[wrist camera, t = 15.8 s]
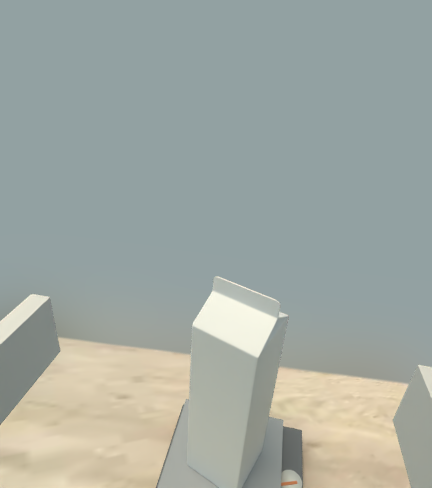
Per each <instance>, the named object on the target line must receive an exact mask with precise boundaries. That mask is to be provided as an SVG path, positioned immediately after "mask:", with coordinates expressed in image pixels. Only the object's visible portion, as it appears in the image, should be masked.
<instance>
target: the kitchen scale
mask: <svg viewBox="0 0 432 488" xmlns="http://www.w3.org/2000/svg"><path fill="white" fill-rule="evenodd" d="M188 417H189V399H186V401H185V404H184V405H183V407H182V410H181V413H180V416H179V419H178V422H177V425H176V428H175V431H174V434H173V437H172V440H171V443H170V446H169V449H168V452H167V455H166V458H165V461H164V465H163V468H162V471H161V474H160V477H159V480H158V483H157V486H156V488H219V487H217V486H216V485H215V484H213V483H212V482H210V481H209V480H208V479H206V478H205V477H204V476H202V475H201V474H199V473H198V472H197V471H195V470H194V469H192V468H191V467H190V466H188V465H187V442H188ZM242 488H303V476H302V430H298V429H293V428H289V427H284V426H283V420H281V419H277V418H272V417H269V418H268V423H267V428H266V433H265V438H264V443H263V448H262V451H261V453H260V455H259V457H258V459H257V461H256V463H255V464H254V466H253V468H252V470H251V472H250V474H249V475H248V477H247V479H246V481H245V483H244V485H243V486H242Z"/></svg>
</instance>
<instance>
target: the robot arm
mask: <svg viewBox="0 0 432 488" xmlns="http://www.w3.org/2000/svg"><path fill="white" fill-rule="evenodd" d="M59 352H60V347H59V342H58V336H57V331H56V326H55V321H54V316H53V311H52V305H51V300H50V297H46V296H41V295H35V294H31V295H30V296H29V297H28V298H26V299H25V300H24V301H23V302H22V303H21V304H20V305H18V306H17V307H16V308H15V309H14V310H13V311H12V312H10V313H9V314H8V315H7V316H6V317H5V318H4V319H2V320H1V321H0V425H1V423H2V422H3V421H4V420H5V418H6V417H7V416H8V415H9V414H10V412H11V411H12V410H13V409H14V407H15V406H16V405H17V404H18V403H19V401H20V400H21V399H22V398H23V396H24V395H25V394H26V393H27V391H28V390H29V389H30V388H31V387H32V385H33V384H34V383H35V382H36V380H37V379H38V378H39V377H40V376H41V374H42V373H43V372H44V371H45V369H46V368H47V367H48V366H49V365H50V363H51V362H52V361H53V360H54V358H55V357H56V356H57V355H58V353H59ZM393 422H394V426H395V430H396V433H397V437H398V441H399V444H400V448H401V452H402V455H403V459H404V463H405V466H406V470H407V474H408V477H409V481H410V485H411V488H432V367H428V366H422V365H418V366H417V368H416V370H415V372H414V374H413V377H412V379H411V381H410V383H409V385H408V388H407V390H406V392H405V394H404V396H403V399H402V401H401V403H400V405H399V407H398V410H397V412H396V414H395V416H394V419H393Z"/></svg>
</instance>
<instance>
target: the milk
mask: <svg viewBox="0 0 432 488" xmlns="http://www.w3.org/2000/svg"><path fill="white" fill-rule="evenodd" d="M288 318H289V316H288V315H286V314H284V313H281V312H280V303H279V302H278V301H277V300H275V299H273V298H270V297H267V296H265V295H263V294H260V293H258V292H255V291H253V290H250V289H248V288H245V287H243V286H240V285H238V284H235V283H233V282H230V281H228V280H225V279H223V278H220V277H215V278H214V281H213V291H212V293H211V295H210V296H209V298H208V300H207V301H206V303H205V304H204V306H203V308H202V309H201V311H200V313H199V314H198V316H197V318H196V319H195V321H194V323H193V324H192V341H191V366H190V392H189V417H188V442H187V465H188V466H190V467H191V468H192V469H194V470H195V471H197V472H198V473H199V474H201V475H202V476H204V477H205V478H206V479H208V480H209V481H210V482H212V483H213V484H215V485H216V486H217V487H219V488H242V486H243V485H244V483H245V481H246V479H247V477H248V475H249V474H250V472H251V470H252V468H253V466H254V464H255V463H256V461H257V459H258V457H259V455H260V453H261V451H262V448H263V443H264V438H265V433H266V428H267V423H268V418H269V413H270V408H271V403H272V398H273V393H274V388H275V383H276V378H277V373H278V368H279V363H280V358H281V353H282V348H283V343H284V338H285V333H286V328H287V323H288Z"/></svg>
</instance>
